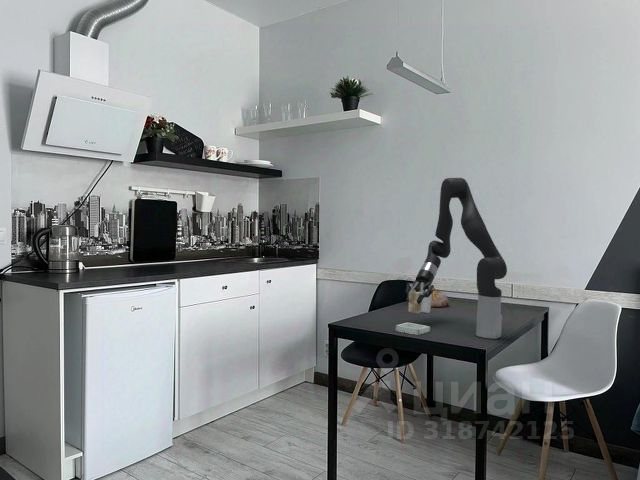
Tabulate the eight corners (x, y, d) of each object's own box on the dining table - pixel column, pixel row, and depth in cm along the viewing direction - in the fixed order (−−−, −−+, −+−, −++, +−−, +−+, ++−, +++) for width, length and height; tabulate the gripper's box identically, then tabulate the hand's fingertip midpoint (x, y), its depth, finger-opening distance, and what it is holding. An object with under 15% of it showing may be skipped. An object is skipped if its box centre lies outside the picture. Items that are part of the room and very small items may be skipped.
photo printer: (431, 312, 264) (432, 289, 263) (428, 313, 260) (429, 289, 260) (413, 309, 269) (414, 287, 269) (410, 310, 266) (411, 287, 265)
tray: (429, 332, 215) (430, 326, 215) (418, 335, 207) (418, 329, 207) (407, 327, 222) (407, 322, 222) (395, 330, 214) (395, 325, 214)
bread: (414, 307, 283) (414, 290, 283) (426, 303, 300) (426, 286, 300) (442, 309, 275) (442, 291, 275) (453, 305, 292) (453, 288, 292)
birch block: (421, 312, 226) (421, 292, 226) (417, 313, 224) (417, 293, 224) (412, 311, 229) (412, 291, 229) (408, 311, 227) (409, 292, 226)
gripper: (410, 267, 236) (396, 295, 228) (438, 269, 227) (424, 298, 218) (416, 278, 241) (402, 305, 232) (443, 280, 231) (429, 309, 222)
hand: (413, 302), depth 225 cm, fingers closed on birch block, 4 cm apart
